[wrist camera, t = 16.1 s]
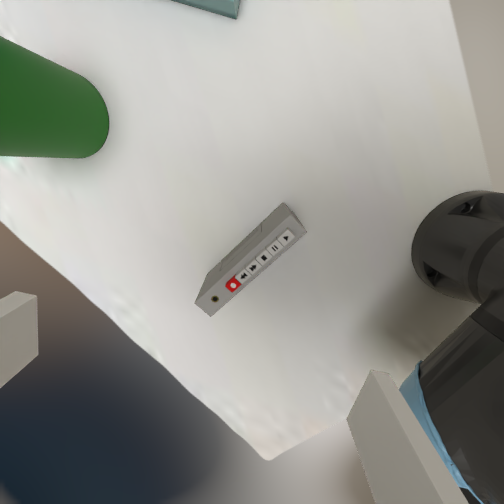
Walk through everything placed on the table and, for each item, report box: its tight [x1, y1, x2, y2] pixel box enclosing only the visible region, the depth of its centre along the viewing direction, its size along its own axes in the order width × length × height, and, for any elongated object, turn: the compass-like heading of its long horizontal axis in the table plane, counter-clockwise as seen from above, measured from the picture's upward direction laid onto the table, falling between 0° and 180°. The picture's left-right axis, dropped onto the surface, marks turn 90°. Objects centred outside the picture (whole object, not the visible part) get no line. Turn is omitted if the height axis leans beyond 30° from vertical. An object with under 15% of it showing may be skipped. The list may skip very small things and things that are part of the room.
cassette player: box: [195, 203, 307, 317], centre depth 34 cm, size 16×3×10 cm, turn 134°
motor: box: [0, 36, 109, 158], centre depth 25 cm, size 10×9×20 cm
